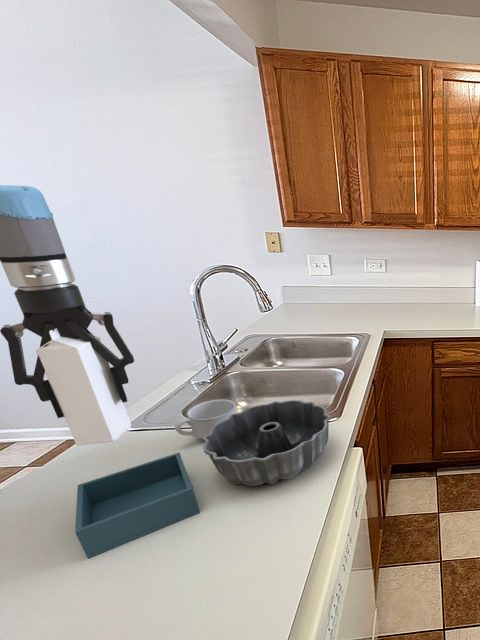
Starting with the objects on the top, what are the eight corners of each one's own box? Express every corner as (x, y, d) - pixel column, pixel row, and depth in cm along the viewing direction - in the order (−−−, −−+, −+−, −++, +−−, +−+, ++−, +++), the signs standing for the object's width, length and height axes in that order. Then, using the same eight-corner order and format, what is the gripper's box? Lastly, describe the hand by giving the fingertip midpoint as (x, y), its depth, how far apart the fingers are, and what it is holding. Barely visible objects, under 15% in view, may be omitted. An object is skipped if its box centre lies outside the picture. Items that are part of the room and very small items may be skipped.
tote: (88, 508, 81) (77, 484, 78) (186, 474, 91) (179, 452, 89) (87, 558, 69) (75, 532, 67) (200, 512, 80) (192, 488, 77)
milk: (132, 426, 80) (95, 320, 72) (113, 442, 74) (71, 329, 66) (96, 429, 79) (54, 322, 71) (75, 446, 73) (27, 332, 65)
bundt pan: (306, 501, 83) (299, 461, 79) (184, 498, 84) (171, 458, 80) (349, 433, 107) (345, 400, 104) (254, 431, 108) (247, 398, 105)
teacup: (235, 419, 114) (228, 395, 111) (246, 434, 107) (240, 408, 104) (176, 438, 105) (168, 411, 102) (184, 455, 98) (175, 427, 95)
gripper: (-60, 299, 57) (8, 435, 65) (128, 281, 70) (165, 396, 78) (-48, 291, 62) (14, 418, 70) (125, 276, 75) (160, 385, 83)
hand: (94, 406), depth 74 cm, fingers closed on milk, 8 cm apart
